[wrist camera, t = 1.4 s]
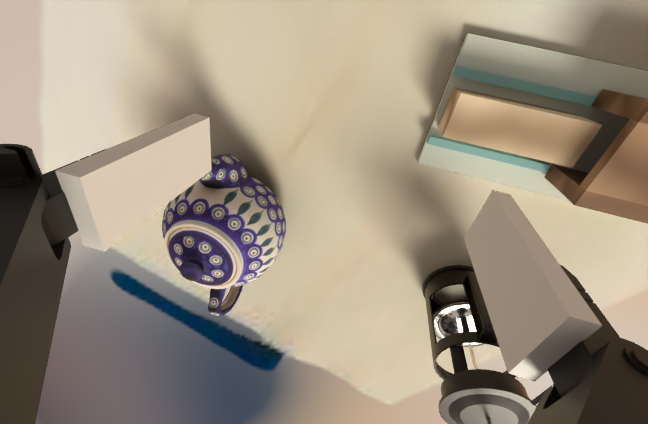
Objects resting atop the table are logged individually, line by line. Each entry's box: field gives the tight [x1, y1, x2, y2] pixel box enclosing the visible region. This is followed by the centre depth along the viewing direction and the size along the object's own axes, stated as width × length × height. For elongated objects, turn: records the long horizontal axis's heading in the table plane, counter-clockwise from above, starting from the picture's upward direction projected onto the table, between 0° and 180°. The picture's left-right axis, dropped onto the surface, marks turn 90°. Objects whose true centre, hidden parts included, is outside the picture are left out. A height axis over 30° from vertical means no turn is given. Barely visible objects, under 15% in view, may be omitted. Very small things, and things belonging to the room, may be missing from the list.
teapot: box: [162, 155, 286, 316], centre depth 36 cm, size 25×15×15 cm, turn 173°
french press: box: [423, 265, 537, 424], centre depth 33 cm, size 12×9×23 cm
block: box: [544, 89, 648, 223], centre depth 26 cm, size 9×8×6 cm
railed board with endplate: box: [418, 33, 648, 201], centre depth 25 cm, size 13×29×10 cm, turn 80°
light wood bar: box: [438, 87, 602, 168], centre depth 28 cm, size 4×12×4 cm, turn 80°
